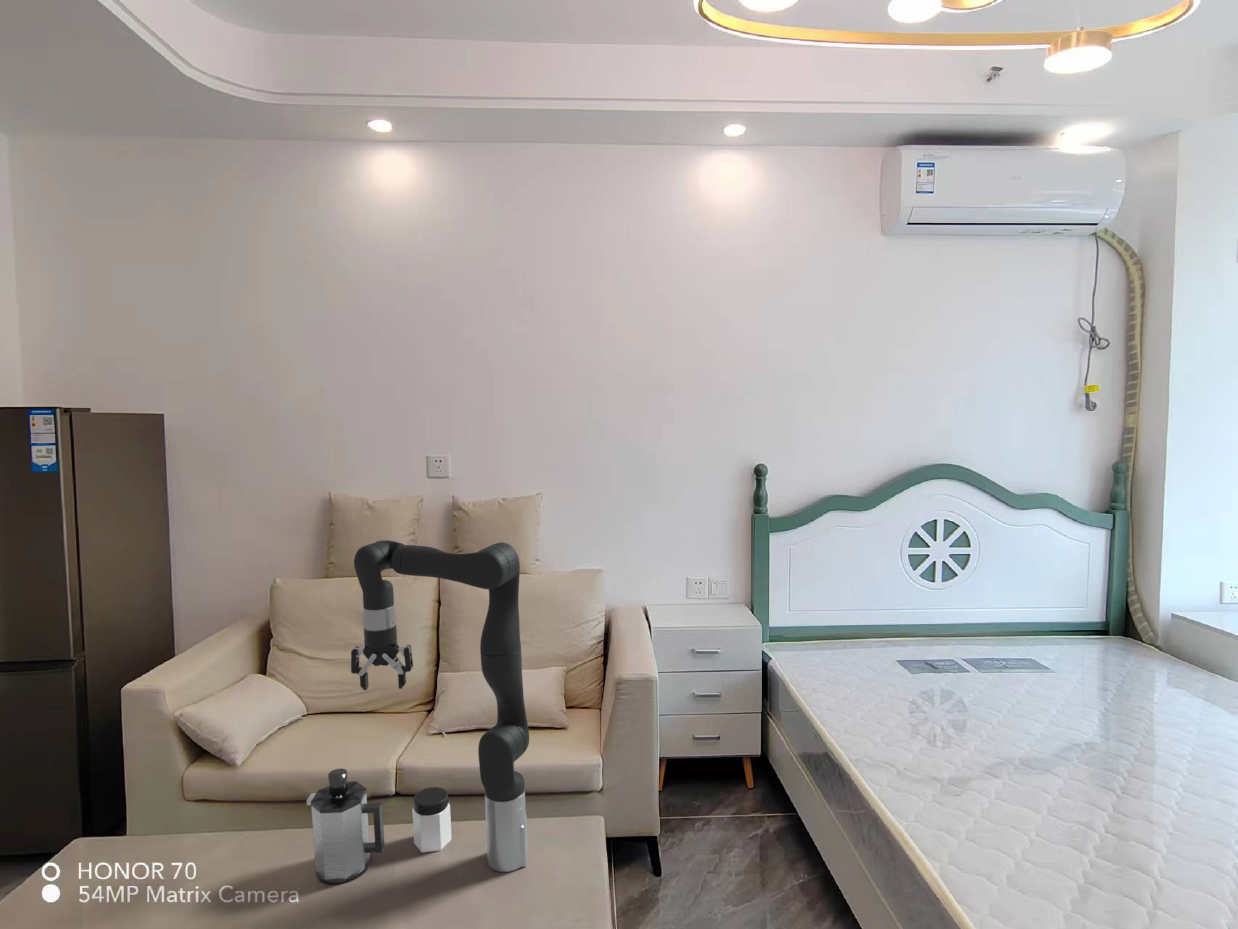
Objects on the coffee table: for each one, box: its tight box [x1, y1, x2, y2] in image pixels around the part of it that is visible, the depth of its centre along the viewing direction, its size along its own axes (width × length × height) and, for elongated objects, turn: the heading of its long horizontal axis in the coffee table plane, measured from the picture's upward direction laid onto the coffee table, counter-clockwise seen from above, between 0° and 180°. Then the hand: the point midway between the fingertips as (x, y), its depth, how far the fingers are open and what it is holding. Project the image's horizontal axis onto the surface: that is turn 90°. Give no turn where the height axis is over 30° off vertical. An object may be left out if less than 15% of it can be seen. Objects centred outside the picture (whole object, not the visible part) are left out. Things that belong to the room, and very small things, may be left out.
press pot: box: [306, 780, 385, 886], centre depth 170 cm, size 16×12×18 cm
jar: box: [411, 786, 452, 853], centre depth 179 cm, size 9×8×12 cm
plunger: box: [327, 768, 349, 798], centre depth 169 cm, size 4×4×20 cm
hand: (383, 688), depth 178 cm, fingers open, 8 cm apart
